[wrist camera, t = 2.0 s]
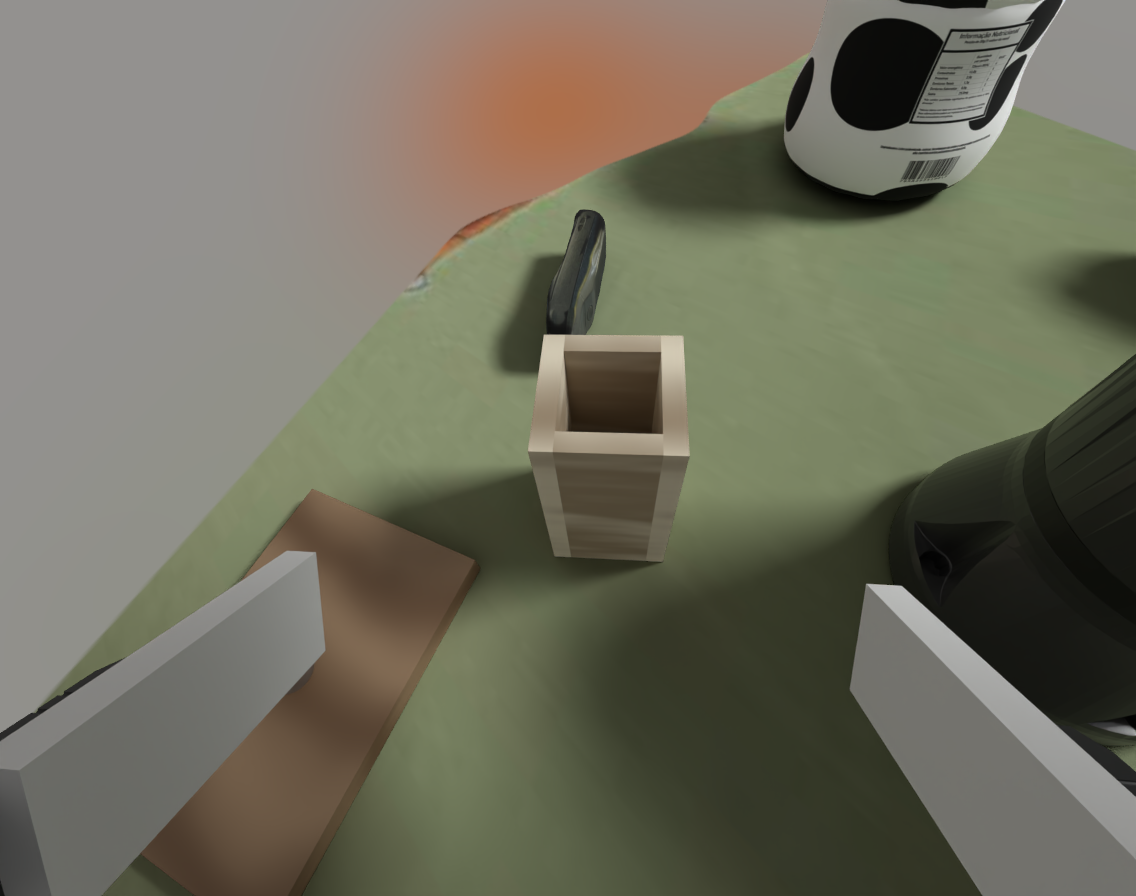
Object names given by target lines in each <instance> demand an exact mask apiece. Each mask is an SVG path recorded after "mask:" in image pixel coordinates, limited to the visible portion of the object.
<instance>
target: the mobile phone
mask: <svg viewBox="0 0 1136 896" xmlns="http://www.w3.org/2000/svg"><path fill="white" fill-rule="evenodd" d="M605 259H606V232H605V222H604V219H603V217H602V216H601V215H600V214H599V213H598V212H596V211H593V210H579V211H578V213H577V214H576V216H575V220H574V226H573V229H572V233H571V237H570V240H569V243H568V246H567V250H566V253H565V257H564V259H563V262H562V263H561V265H560V267H559V269H558V271H557V273H556V275H555V277H554V278H553V281H552V283H551V286H550V289H549V292H548V298H547V317H546V326H547V335H586V333H587V331H588V330H589V328H590V327H591V325H592V322H593V319H594V314H595V309H596V304H597V300H598V296H599V292H600V286H601V281H602V276H603V271H604V266H605Z"/></svg>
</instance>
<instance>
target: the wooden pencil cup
mask: <svg viewBox="0 0 1136 896" xmlns="http://www.w3.org/2000/svg"><path fill="white" fill-rule="evenodd" d="M528 454H529V458H530V461H531V465H532V469H533V473H534V477H535V481H536V485H537V489H538V493H539V497H540V501H541V505H542V509H543V513H544V517H545V521H546V525H547V529H548V533H549V537H550V540H551V544H552V548H553V552H554V556H558V557H577V558H597V559H617V560H637V561H657V562H663V560H664V556H665V552H666V548H667V544H668V540H669V536H670V532H671V528H672V524H673V520H674V516H675V512H676V508H677V504H678V500H679V496H680V492H681V488H682V484H683V480H684V476H685V472H686V468H687V464H688V460H689V438H688V419H687V400H686V381H685V362H684V343H683V336H640V335H544V338H543V345H542V353H541V360H540V367H539V374H538V382H537V389H536V396H535V403H534V411H533V418H532V425H531V433H530V440H529V447H528Z"/></svg>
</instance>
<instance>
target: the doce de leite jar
mask: <svg viewBox="0 0 1136 896" xmlns="http://www.w3.org/2000/svg"><path fill="white" fill-rule="evenodd" d="M1064 2H1065V0H827V4H826V8H825V12H824V16H823V20H822V23H821V26H820V30H819V33H818V36H817V38H816V41H815V43H814V46H813V48H812V50H811V52H810V54H809V56H808V58H807V60H806V61H805V63H804V65H803V67H802V69H801V71H800V73H799V75H798V77H797V79H796V81H795V83H794V86H793V88H792V91H791V94H790V97H789V101H788V105H787V110H786V116H785V125H784V142H785V147H786V150H787V153H788V156H789V158H790V160H791V161H792V162H793V164H794V165H795V166H796V167H797V168H798V169H799V170H801V171H802V172H803V173H804V174H805V175H806V176H808V177H809V178H810V179H811V180H812V181H814V182H816V183H819V184H821V185H823V186H825V187H827V188H829V189H831V190H833V191H835V192H839V193H843V194H848V195H852V196H855V197H859V198H863V199H882V200H896V201H897V200H903V199H909V198H915V197H922V196H927V195H931V194H934V193H937V192H940V191H942V190H944V189H946V188H949V187H951V186H953V185H954V184H956V183H957V182H959V181H960V180H961V179H963V178H964V177H965V176H966V175H968V174H969V173H970V172H971V171H972V170H973V169H974V167H975V166H976V165H977V164H978V163H979V162H980V161H981V159H982V158H983V157H984V156H985V155H986V153H987V152H988V151H989V149H990V148H991V147H992V145H993V144H994V142H995V141H996V139H997V138H998V136H999V135H1000V133H1001V131H1002V129H1003V127H1004V125H1005V123H1006V121H1007V119H1008V117H1009V114H1010V112H1011V109H1012V106H1013V103H1014V99H1015V96H1016V93H1017V90H1018V87H1019V83H1020V80H1021V78H1022V75H1023V72H1024V70H1025V68H1026V66H1027V63H1028V61H1029V59H1030V57H1031V56H1032V54H1033V52H1034V51H1035V49H1036V47H1037V45H1038V44H1039V42H1040V40H1041V39H1042V37H1043V35H1044V34H1045V32H1046V31H1047V29H1048V27H1049V26H1050V24H1051V23H1052V21H1053V19H1054V18H1055V16H1056V15H1057V13H1058V12H1059V10H1060V8H1061V6H1062V5H1063V3H1064Z"/></svg>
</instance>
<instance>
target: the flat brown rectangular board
mask: <svg viewBox="0 0 1136 896" xmlns="http://www.w3.org/2000/svg"><path fill="white" fill-rule="evenodd" d="M286 551H302V552H316V557H317V567H318V578H319V588H320V598H321V609H322V619H323V629H324V640H325V650H326V651H325V652H324V653H323V654H322V655H321V656H320V657H319V658H318V659H317V660H316V662H315V663H314V664H313V665H312V666H311V667H310V668H309V669H308V670H307V671H306V673H305V674H304V675H303V676H302V677H301V678H300V679H299V680H298V681H297V682H296V683H295V685H294V686H293V687H292V688H291V689H290V690H289V691H288V692H287V693H286V694H285V696H284V697H283V698H282V699H281V700H280V701H279V702H278V703H277V704H276V705H275V706H274V708H273V709H272V710H271V711H270V712H269V713H268V714H267V715H266V716H265V717H264V718H263V720H262V721H261V722H260V723H259V724H258V725H257V726H256V727H255V728H254V729H253V731H252V732H251V733H250V734H249V735H248V736H247V737H246V738H245V739H244V740H243V741H242V743H241V744H240V745H239V746H238V747H237V748H236V749H235V750H234V751H233V752H232V753H231V755H230V756H229V757H228V758H227V759H226V760H225V761H224V762H223V763H222V764H221V766H220V767H219V768H218V769H217V770H216V771H215V772H214V773H213V774H212V775H211V776H210V778H209V779H208V780H207V781H206V782H205V783H204V784H203V785H202V786H201V787H200V789H199V790H198V791H197V792H196V793H195V794H194V795H193V796H192V797H191V798H190V799H189V801H188V802H187V803H186V804H185V805H184V806H183V807H182V808H181V809H180V810H179V811H178V813H177V814H176V815H175V816H174V817H173V818H172V819H171V820H170V821H169V822H168V824H167V825H166V826H165V827H164V828H163V829H162V830H161V831H160V832H159V833H158V834H157V836H156V837H155V838H154V839H153V840H152V841H151V842H150V843H149V844H148V845H147V846H146V848H145V849H144V850H143V851H142V852H141V853H140V854H141V855H143V856H144V857H145V858H146V859H148V860H149V861H150V862H152V863H153V864H154V865H156V866H157V867H158V868H159V869H161V870H162V871H163V872H165V873H166V874H167V875H168V876H170V877H171V878H172V879H174V880H175V881H176V882H178V883H179V884H180V885H181V886H183V887H184V888H185V889H187V890H188V891H189V892H191V893H192V894H193V895H194V896H302V894H303V892H304V890H305V888H306V886H307V885H308V883H309V881H310V879H311V877H312V876H313V874H314V872H315V870H316V868H317V866H318V865H319V863H320V861H321V859H322V857H323V855H324V854H325V852H326V850H327V848H328V846H329V845H330V843H331V841H332V839H333V837H334V835H335V834H336V832H337V830H338V828H339V826H340V824H341V823H342V821H343V819H344V817H345V815H346V813H347V812H348V810H349V808H350V806H351V804H352V803H353V801H354V799H355V797H356V795H357V793H358V792H359V790H360V788H361V786H362V784H363V782H364V781H365V779H366V777H367V775H368V773H369V772H370V770H371V768H372V766H373V764H374V762H375V761H376V759H377V757H378V755H379V753H380V751H381V750H382V748H383V746H384V744H385V742H386V740H387V739H388V737H389V735H390V733H391V731H392V730H393V728H394V726H395V724H396V722H397V720H398V719H399V717H400V715H401V713H402V711H403V709H404V708H405V706H406V704H407V702H408V700H409V699H410V697H411V695H412V693H413V691H414V689H415V688H416V686H417V684H418V682H419V680H420V678H421V677H422V675H423V673H424V671H425V669H426V667H427V666H428V664H429V662H430V660H431V658H432V657H433V655H434V653H435V651H436V649H437V647H438V646H439V644H440V642H441V640H442V638H443V636H444V635H445V633H446V631H447V629H448V627H449V625H450V624H451V622H452V620H453V618H454V616H455V615H456V613H457V611H458V609H459V607H460V605H461V604H462V602H463V600H464V598H465V596H466V594H467V593H468V591H469V589H470V587H471V585H472V584H473V582H474V580H475V578H476V576H477V574H478V573H479V571H480V567H479V565H478V564H477V562H476V561H475V560H474V559H472V558H469V557H467V556H465V555H463V554H460V553H458V552H456V551H453V550H451V549H449V548H447V547H444V546H442V545H440V544H437V543H435V542H433V541H431V540H428V539H426V538H424V537H421V536H419V535H417V534H415V533H412V532H410V531H408V530H405V529H403V528H401V527H399V526H396V525H394V524H392V523H389V522H387V521H385V520H383V519H380V518H378V517H376V516H373V515H371V514H369V513H367V512H364V511H362V510H360V509H357V508H355V507H353V506H351V505H348V504H346V503H344V502H341V501H339V500H337V499H335V498H332V497H330V496H328V495H325V494H323V493H321V492H319V491H316V490H314V489H312V490H311V491H310V492H309V494H308V495H307V496H306V497H305V499H304V500H303V501H302V503H301V504H300V505H299V507H298V508H297V509H296V510H295V512H294V513H293V514H292V516H291V517H290V518H289V519H288V521H287V522H286V523H285V525H284V526H283V527H282V528H281V530H280V531H279V532H278V534H277V535H276V536H275V538H274V539H273V540H272V541H271V543H270V544H269V545H268V547H267V548H266V549H265V550H264V552H263V553H262V554H261V556H260V557H259V558H258V559H257V561H256V562H255V563H254V565H253V566H252V567H251V568H250V570H249V571H248V572H247V574H246V575H245V576H244V578H243V579H242V580H244V579H245V578H247V577H248V576H250V575H251V574H253V573H254V572H256V571H257V570H259V569H260V568H262V567H263V566H265V565H266V564H268V563H269V562H271V561H272V560H274V559H275V558H277V557H278V556H280V555H281V554H283V553H284V552H286ZM242 580H241V581H242ZM241 581H240V582H241Z"/></svg>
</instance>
